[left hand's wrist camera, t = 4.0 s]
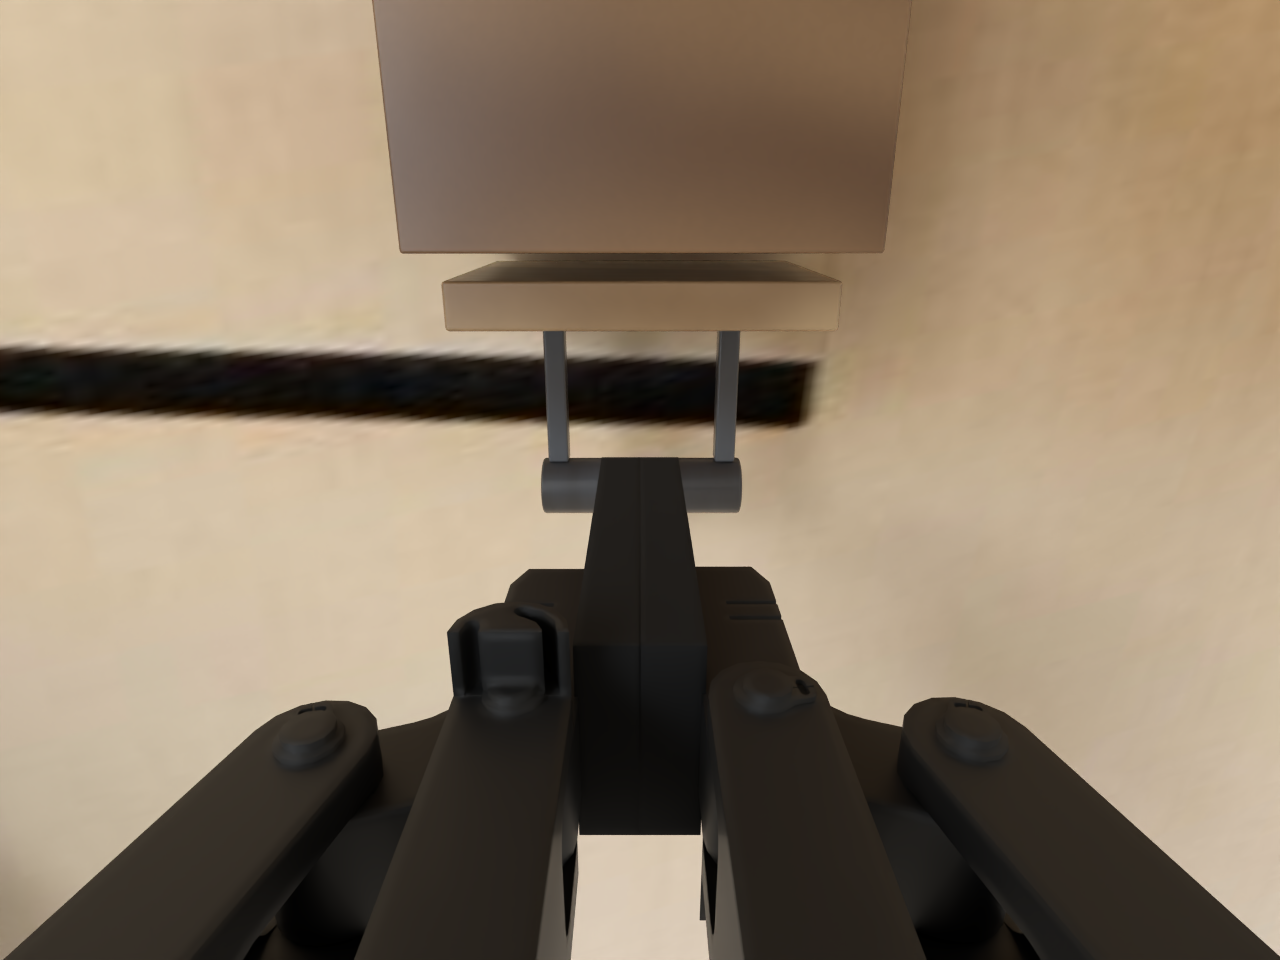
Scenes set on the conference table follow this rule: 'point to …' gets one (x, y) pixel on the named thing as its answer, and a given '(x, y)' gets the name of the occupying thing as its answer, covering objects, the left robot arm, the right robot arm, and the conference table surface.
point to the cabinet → (642, 124)
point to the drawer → (641, 303)
